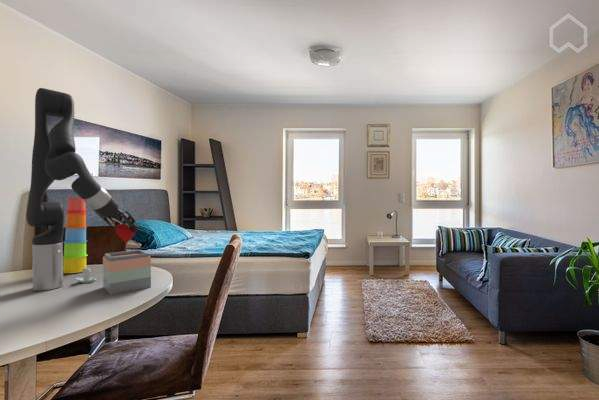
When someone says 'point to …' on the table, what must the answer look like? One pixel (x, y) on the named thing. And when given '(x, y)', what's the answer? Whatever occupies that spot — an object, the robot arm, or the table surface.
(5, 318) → the table surface
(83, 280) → the pacifier
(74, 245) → the stacking cups
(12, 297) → the table surface
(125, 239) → the strawberry
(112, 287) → the pastel striped block
